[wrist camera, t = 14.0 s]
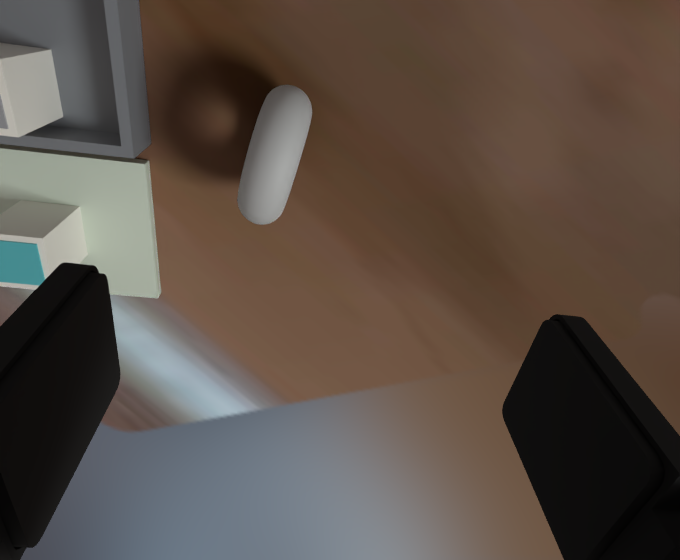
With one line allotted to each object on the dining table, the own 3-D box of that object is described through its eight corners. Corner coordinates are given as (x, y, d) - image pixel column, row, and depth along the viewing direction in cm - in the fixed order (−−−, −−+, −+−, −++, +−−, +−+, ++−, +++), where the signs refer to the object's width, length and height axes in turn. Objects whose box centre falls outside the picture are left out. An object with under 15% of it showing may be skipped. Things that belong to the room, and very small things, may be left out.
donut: (275, 67, 34) (261, 90, 26) (319, 83, 35) (319, 111, 26) (244, 188, 39) (223, 241, 31) (283, 200, 40) (273, 255, 31)
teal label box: (21, 200, 38) (-27, 232, 33) (79, 206, 38) (41, 239, 33) (33, 248, 40) (-10, 286, 35) (87, 254, 41) (53, 292, 36)
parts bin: (-157, -144, 27) (-226, -164, 24) (130, -97, 29) (104, -110, 26) (-72, 118, 35) (-113, 131, 32) (151, 143, 37) (133, 158, 33)
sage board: (-62, 137, 36) (-71, 140, 35) (149, 160, 38) (144, 164, 37) (-16, 277, 43) (-23, 283, 42) (161, 292, 44) (157, 298, 43)
